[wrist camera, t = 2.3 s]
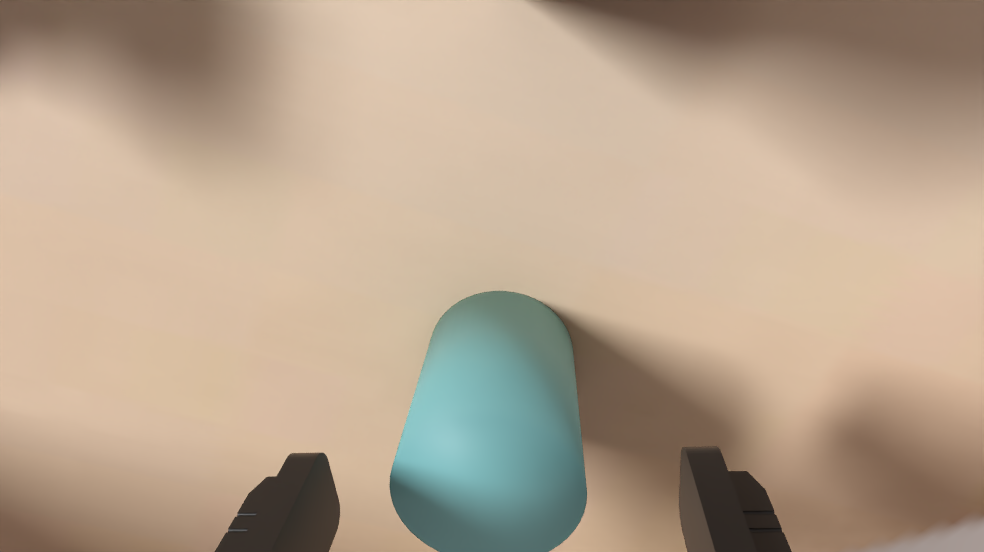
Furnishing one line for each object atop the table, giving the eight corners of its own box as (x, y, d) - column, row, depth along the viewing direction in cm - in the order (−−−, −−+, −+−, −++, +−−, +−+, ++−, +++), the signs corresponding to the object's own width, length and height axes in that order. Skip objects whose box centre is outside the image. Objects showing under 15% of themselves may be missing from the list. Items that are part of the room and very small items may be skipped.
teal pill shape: (438, 414, 21) (404, 564, 16) (421, 294, 19) (375, 416, 14) (574, 411, 21) (588, 564, 15) (571, 287, 19) (585, 411, 13)
